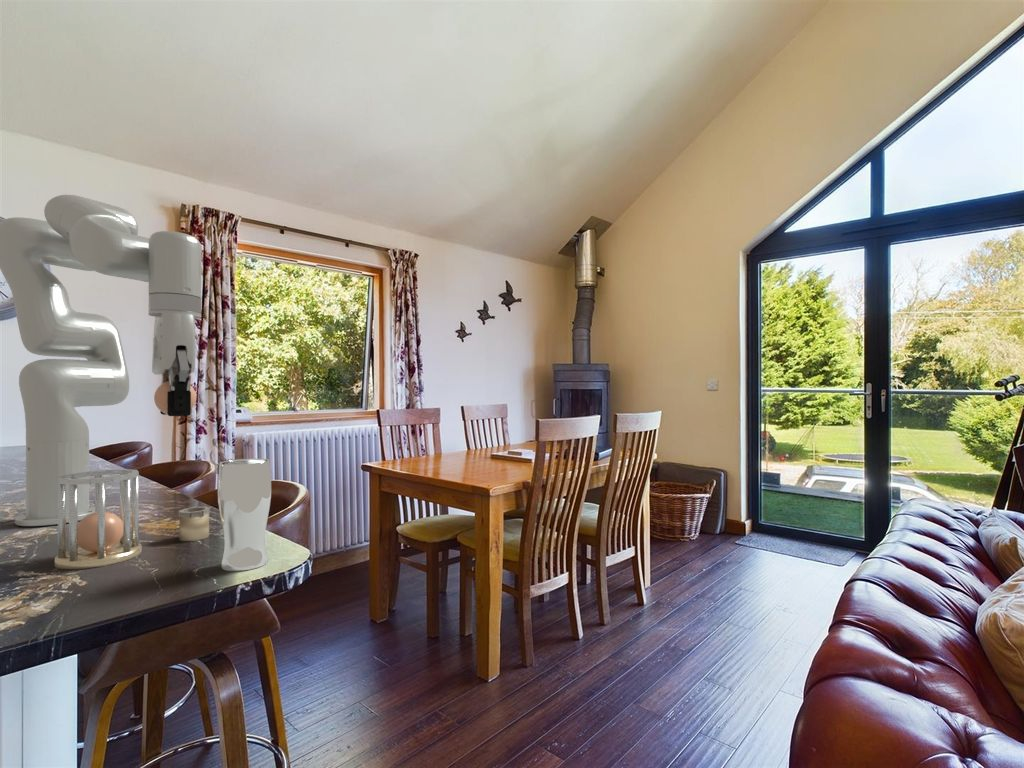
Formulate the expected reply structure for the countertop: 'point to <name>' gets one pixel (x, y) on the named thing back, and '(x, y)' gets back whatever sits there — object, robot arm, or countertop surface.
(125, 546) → the cage tube
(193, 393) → the terracotta ball
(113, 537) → the ball
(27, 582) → the countertop surface
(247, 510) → the beer glass
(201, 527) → the stand
